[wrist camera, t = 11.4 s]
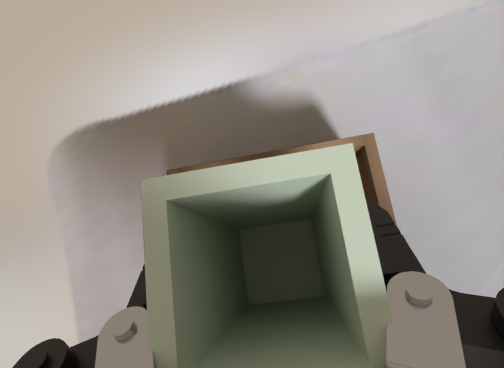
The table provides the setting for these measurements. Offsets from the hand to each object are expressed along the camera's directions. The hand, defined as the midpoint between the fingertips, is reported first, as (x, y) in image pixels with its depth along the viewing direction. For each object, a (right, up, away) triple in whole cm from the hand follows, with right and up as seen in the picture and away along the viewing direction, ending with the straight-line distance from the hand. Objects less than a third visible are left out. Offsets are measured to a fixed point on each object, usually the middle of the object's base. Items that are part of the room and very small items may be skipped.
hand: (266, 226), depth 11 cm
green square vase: (+1, -3, +5) cm, 6 cm away
